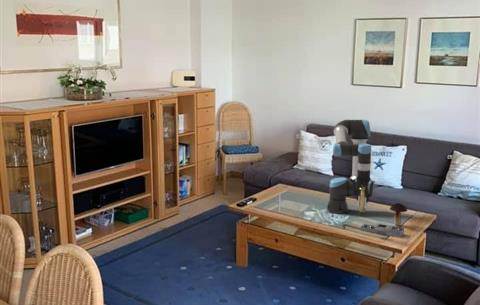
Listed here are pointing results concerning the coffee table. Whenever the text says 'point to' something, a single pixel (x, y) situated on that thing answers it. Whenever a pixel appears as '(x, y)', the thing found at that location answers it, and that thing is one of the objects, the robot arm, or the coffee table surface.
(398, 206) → the decorative mushroom
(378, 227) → the riveted socket bracket
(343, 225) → the coffee table surface
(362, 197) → the brass pin
